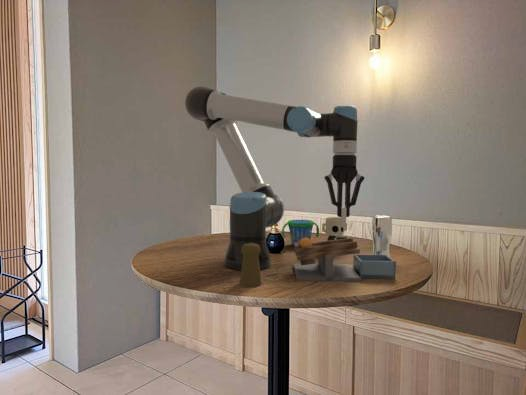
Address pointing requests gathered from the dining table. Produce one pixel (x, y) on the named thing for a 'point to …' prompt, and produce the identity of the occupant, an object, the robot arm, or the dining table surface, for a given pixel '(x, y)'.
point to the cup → (374, 266)
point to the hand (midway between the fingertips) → (343, 226)
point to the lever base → (326, 271)
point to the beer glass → (381, 234)
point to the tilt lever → (326, 249)
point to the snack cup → (300, 230)
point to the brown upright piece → (250, 265)
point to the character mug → (333, 228)
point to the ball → (305, 243)
